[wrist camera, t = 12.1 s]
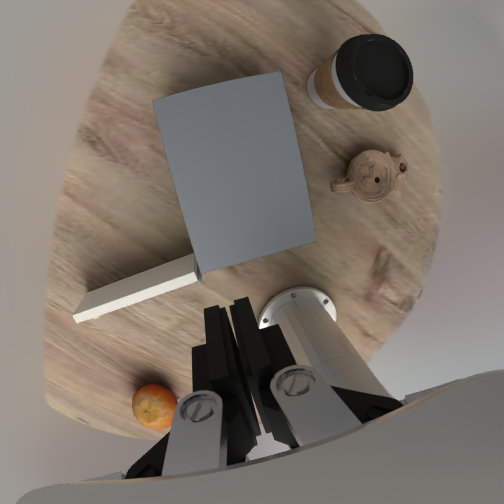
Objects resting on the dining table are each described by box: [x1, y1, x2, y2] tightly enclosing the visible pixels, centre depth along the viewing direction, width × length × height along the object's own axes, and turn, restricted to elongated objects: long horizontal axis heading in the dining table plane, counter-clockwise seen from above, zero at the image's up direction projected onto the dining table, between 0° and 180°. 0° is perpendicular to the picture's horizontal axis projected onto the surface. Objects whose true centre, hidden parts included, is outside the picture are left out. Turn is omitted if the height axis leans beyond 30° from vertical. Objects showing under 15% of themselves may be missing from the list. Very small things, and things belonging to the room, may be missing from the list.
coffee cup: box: [307, 34, 413, 111], centre depth 31 cm, size 8×8×15 cm
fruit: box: [132, 383, 179, 430], centre depth 47 cm, size 8×8×8 cm
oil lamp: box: [330, 150, 408, 204], centre depth 41 cm, size 13×8×5 cm, turn 102°
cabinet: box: [152, 71, 317, 274], centre depth 37 cm, size 20×14×7 cm
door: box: [72, 253, 202, 323], centre depth 39 cm, size 18×2×7 cm, turn 108°
